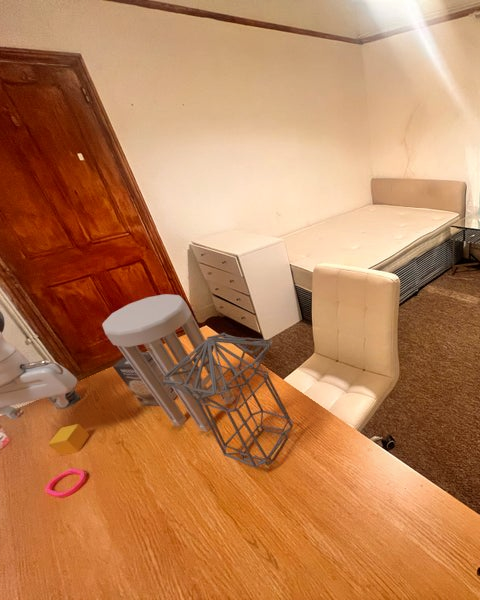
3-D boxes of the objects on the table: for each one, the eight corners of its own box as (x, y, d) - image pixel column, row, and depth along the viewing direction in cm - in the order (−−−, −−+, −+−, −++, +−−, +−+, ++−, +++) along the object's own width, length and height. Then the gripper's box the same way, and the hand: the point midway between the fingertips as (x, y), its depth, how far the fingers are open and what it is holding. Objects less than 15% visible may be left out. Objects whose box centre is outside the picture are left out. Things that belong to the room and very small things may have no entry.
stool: (246, 394, 93) (198, 295, 75) (207, 440, 81) (138, 335, 62) (204, 387, 97) (149, 291, 78) (161, 430, 84) (83, 328, 66)
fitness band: (94, 474, 75) (90, 471, 74) (68, 500, 70) (63, 497, 69) (69, 469, 76) (65, 465, 75) (42, 493, 71) (37, 490, 71)
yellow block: (60, 455, 80) (47, 444, 77) (73, 439, 84) (61, 427, 81) (78, 451, 80) (66, 439, 78) (89, 435, 85) (78, 423, 82)
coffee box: (140, 406, 92) (110, 366, 84) (156, 389, 98) (129, 350, 89) (167, 407, 91) (140, 367, 83) (182, 390, 96) (158, 351, 88)
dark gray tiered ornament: (64, 397, 97) (37, 369, 91) (85, 392, 99) (61, 364, 92) (52, 411, 93) (23, 383, 86) (75, 406, 94) (49, 378, 88)
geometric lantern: (269, 486, 69) (207, 374, 51) (216, 467, 74) (142, 358, 56) (308, 427, 82) (269, 320, 63) (260, 414, 87) (212, 311, 68)
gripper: (61, 349, 72) (97, 390, 79) (-45, 370, 68) (2, 411, 76) (42, 368, 67) (82, 410, 74) (-74, 391, 63) (-21, 433, 70)
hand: (41, 410), depth 75 cm, fingers open, 8 cm apart
